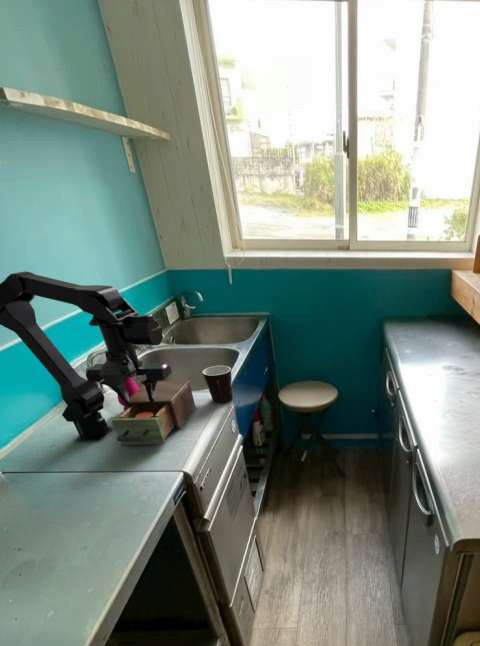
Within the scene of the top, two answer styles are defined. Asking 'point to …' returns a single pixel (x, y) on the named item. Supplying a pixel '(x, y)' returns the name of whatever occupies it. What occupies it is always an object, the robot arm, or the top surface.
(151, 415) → the orange cylinder
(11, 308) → the robot arm
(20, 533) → the top surface
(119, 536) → the top surface
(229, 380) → the dark brown cup
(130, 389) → the magenta rounded piece
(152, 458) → the top surface
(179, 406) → the cabinet
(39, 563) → the top surface
